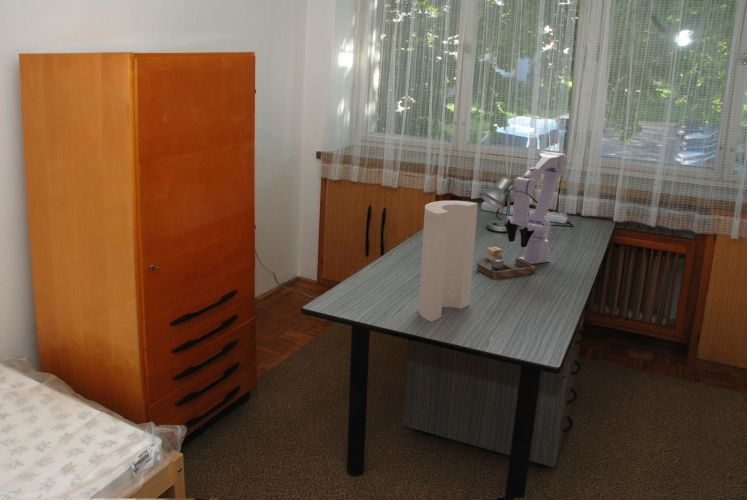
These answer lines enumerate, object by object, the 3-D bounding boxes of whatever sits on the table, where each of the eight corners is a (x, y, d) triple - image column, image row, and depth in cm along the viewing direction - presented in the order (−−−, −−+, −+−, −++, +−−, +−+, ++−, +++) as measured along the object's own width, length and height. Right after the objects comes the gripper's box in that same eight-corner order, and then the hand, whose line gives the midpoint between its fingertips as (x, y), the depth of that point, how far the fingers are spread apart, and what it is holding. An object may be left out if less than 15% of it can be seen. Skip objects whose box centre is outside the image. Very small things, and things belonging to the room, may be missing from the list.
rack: (516, 264, 290) (517, 258, 290) (534, 273, 281) (535, 266, 280) (476, 269, 282) (477, 263, 282) (494, 278, 273) (494, 272, 272)
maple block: (494, 257, 298) (495, 246, 297) (501, 260, 295) (502, 249, 293) (485, 258, 297) (486, 247, 295) (492, 261, 293) (493, 250, 291)
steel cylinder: (497, 270, 282) (499, 258, 281) (504, 274, 278) (505, 261, 277) (488, 271, 280) (489, 259, 279) (495, 275, 276) (496, 262, 275)
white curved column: (471, 305, 246) (433, 322, 231) (444, 296, 253) (405, 312, 238) (479, 203, 235) (440, 214, 220) (451, 197, 243) (411, 207, 227)
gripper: (500, 205, 281) (497, 239, 285) (524, 214, 269) (520, 250, 273) (515, 204, 284) (512, 238, 288) (539, 213, 272) (535, 248, 276)
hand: (517, 244), depth 281 cm, fingers open, 7 cm apart
